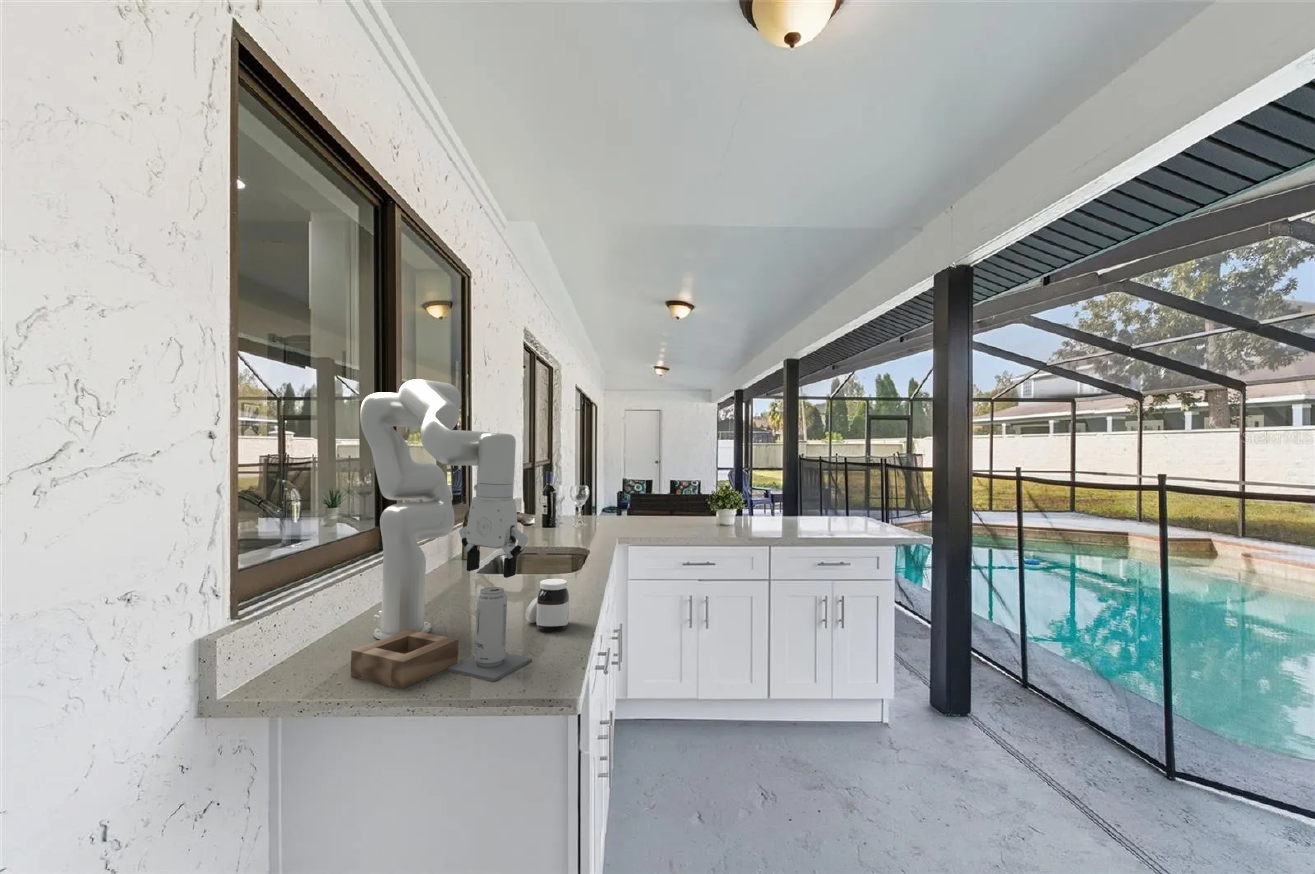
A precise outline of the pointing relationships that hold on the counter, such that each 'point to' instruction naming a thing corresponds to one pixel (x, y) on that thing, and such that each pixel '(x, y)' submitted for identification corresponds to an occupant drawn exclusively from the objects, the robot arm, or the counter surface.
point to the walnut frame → (404, 658)
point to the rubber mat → (489, 673)
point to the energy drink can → (490, 627)
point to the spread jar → (550, 606)
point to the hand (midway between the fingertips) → (490, 573)
